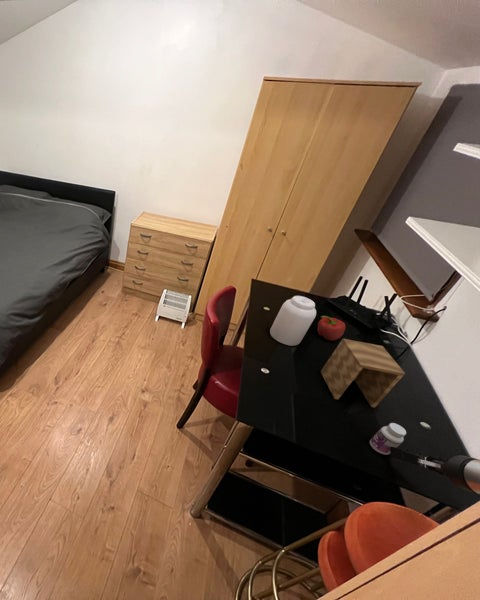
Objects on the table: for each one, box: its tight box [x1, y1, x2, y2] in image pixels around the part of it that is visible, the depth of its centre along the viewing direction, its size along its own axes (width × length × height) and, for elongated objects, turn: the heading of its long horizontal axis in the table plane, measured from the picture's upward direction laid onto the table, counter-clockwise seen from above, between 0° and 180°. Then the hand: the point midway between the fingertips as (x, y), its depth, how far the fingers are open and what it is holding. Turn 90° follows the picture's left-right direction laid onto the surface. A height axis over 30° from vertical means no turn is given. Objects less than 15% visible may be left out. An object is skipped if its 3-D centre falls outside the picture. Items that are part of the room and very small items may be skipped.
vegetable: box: [317, 315, 346, 342], centre depth 145 cm, size 11×10×10 cm
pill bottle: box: [369, 422, 407, 456], centre depth 98 cm, size 5×5×10 cm
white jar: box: [269, 295, 317, 347], centre depth 139 cm, size 12×12×20 cm
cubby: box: [320, 338, 406, 409], centre depth 116 cm, size 14×13×17 cm
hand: (393, 451), depth 95 cm, fingers closed
